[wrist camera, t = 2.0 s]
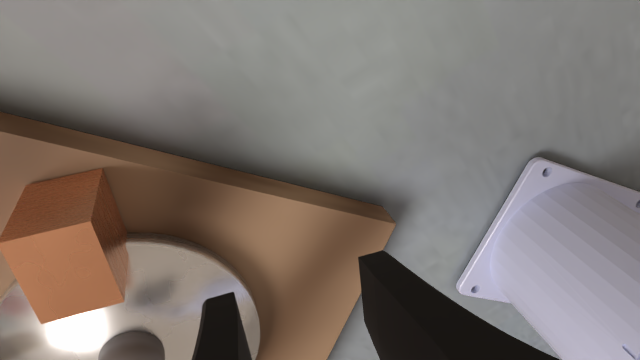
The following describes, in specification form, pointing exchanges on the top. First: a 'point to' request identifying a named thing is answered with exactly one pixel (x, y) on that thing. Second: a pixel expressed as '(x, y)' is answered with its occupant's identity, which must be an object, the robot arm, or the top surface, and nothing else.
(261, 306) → the mounting board
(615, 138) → the top surface
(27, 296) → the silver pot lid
